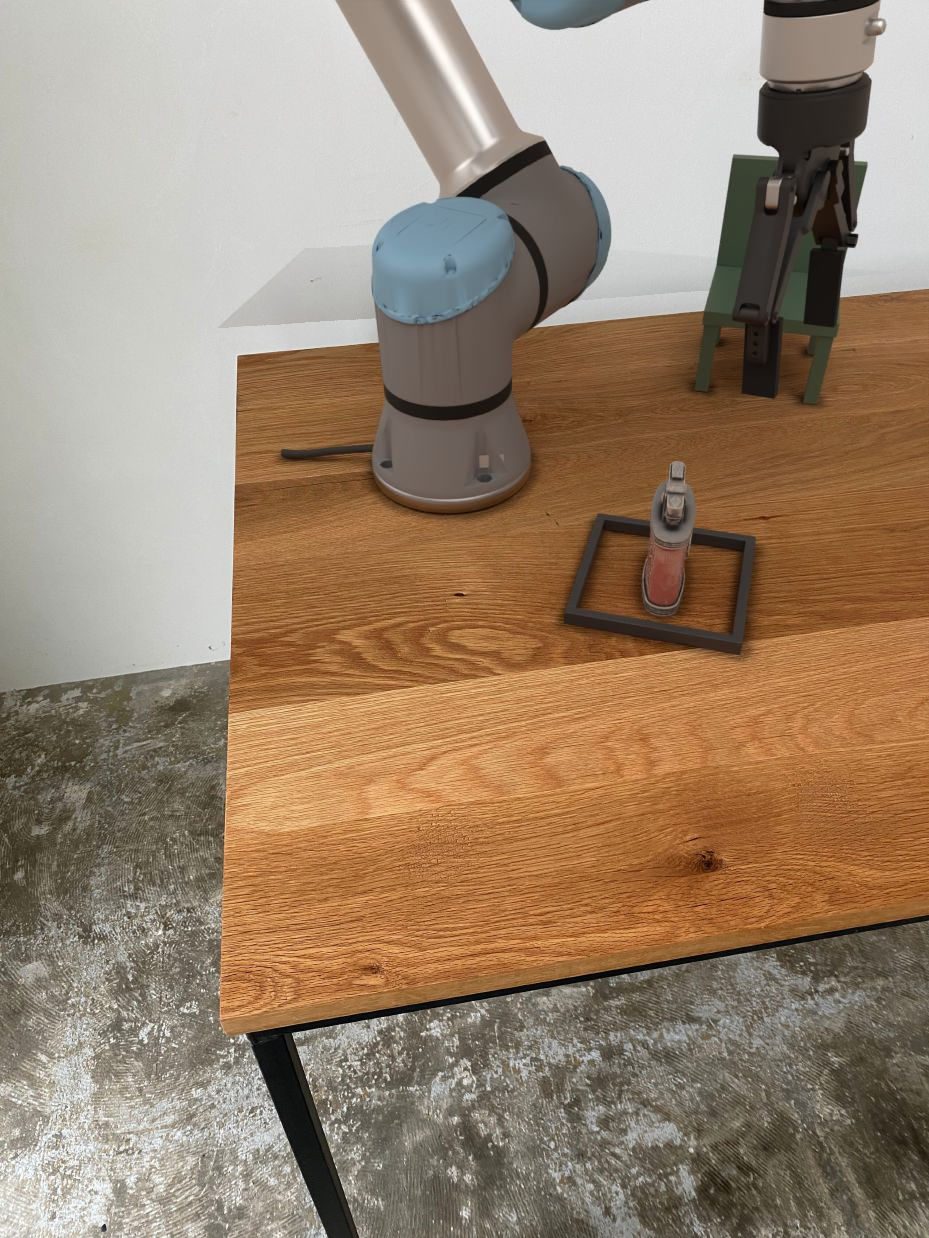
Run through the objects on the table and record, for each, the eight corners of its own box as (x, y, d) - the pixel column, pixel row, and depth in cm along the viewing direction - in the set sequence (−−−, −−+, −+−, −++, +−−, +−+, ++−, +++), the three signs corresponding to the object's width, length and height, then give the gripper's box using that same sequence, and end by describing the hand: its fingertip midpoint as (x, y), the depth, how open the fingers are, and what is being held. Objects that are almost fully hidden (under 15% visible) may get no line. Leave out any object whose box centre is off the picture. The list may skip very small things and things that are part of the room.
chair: (692, 391, 100) (720, 196, 87) (705, 337, 109) (733, 154, 96) (818, 406, 97) (869, 206, 83) (822, 349, 106) (867, 161, 93)
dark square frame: (563, 623, 74) (564, 612, 73) (596, 523, 83) (597, 512, 83) (740, 655, 71) (742, 643, 70) (753, 547, 80) (756, 536, 79)
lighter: (681, 618, 74) (699, 515, 67) (638, 613, 74) (651, 511, 68) (684, 555, 80) (701, 455, 73) (644, 551, 80) (657, 451, 73)
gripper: (802, 130, 57) (777, 436, 70) (924, 32, 71) (884, 303, 85) (688, 128, 61) (685, 419, 74) (824, 35, 75) (801, 294, 88)
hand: (791, 358), depth 79 cm, fingers open, 13 cm apart
